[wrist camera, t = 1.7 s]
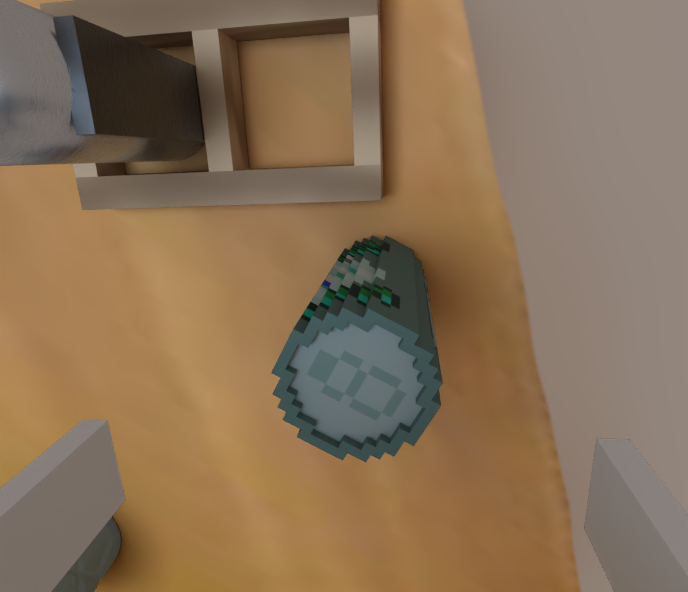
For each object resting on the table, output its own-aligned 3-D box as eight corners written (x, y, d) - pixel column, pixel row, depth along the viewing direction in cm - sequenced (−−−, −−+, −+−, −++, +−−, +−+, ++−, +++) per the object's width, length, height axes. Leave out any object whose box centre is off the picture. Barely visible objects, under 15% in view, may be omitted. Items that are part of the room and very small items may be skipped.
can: (358, 221, 30) (317, 281, 16) (440, 264, 30) (470, 361, 16) (319, 298, 32) (250, 413, 18) (395, 338, 32) (388, 483, 18)
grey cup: (111, 588, 43) (7, 742, 32) (14, 542, 43) (-126, 681, 32) (141, 513, 40) (36, 655, 29) (36, 463, 40) (-111, 586, 29)
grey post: (225, 158, 30) (64, 162, 16) (132, 162, 31) (-100, 170, 17) (213, 57, 28) (21, -41, 14) (115, 64, 29) (-159, -20, 15)
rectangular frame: (383, 195, 30) (381, 200, 27) (111, 205, 32) (82, 209, 29) (379, -10, 26) (376, -30, 23) (76, 18, 29) (39, 3, 26)
